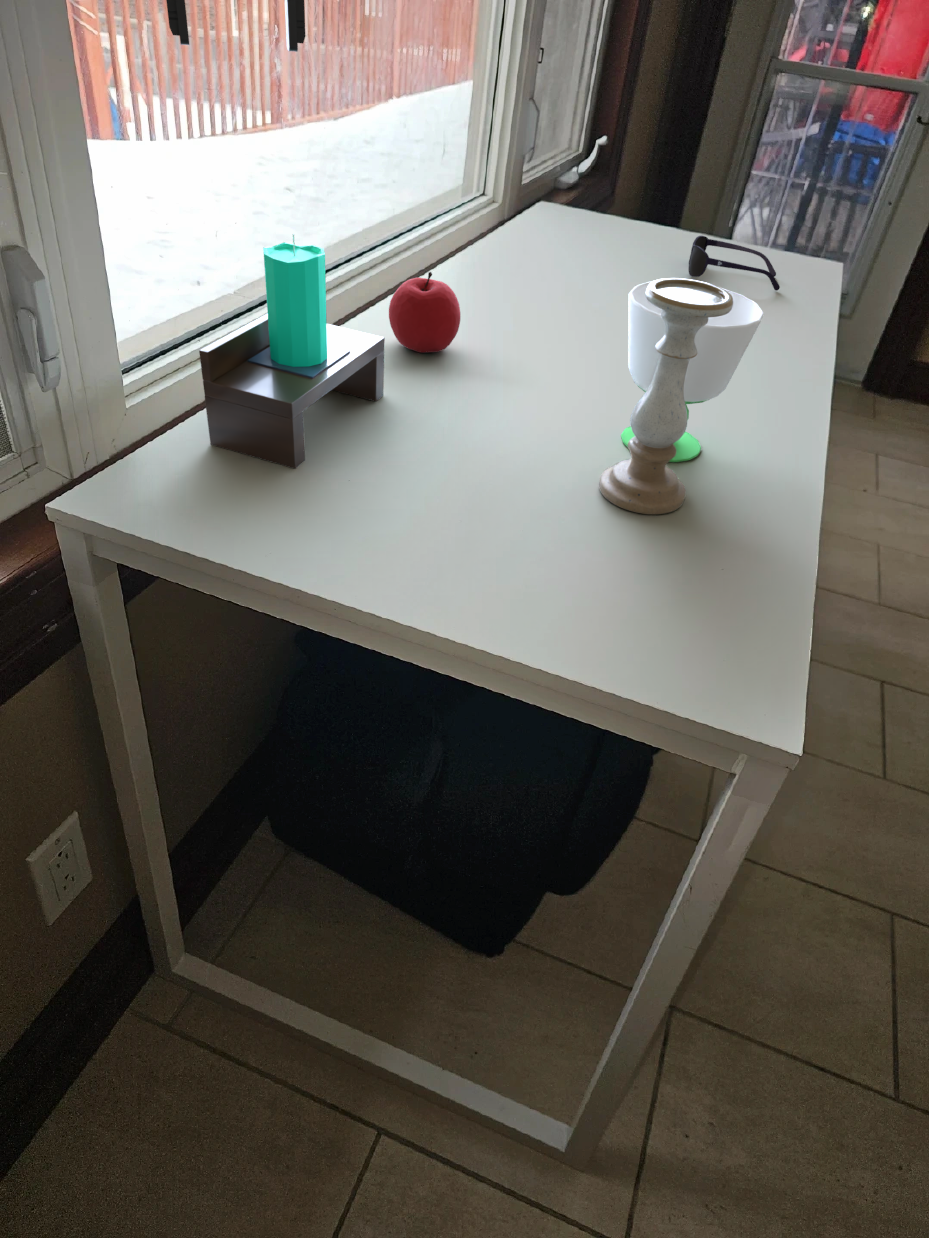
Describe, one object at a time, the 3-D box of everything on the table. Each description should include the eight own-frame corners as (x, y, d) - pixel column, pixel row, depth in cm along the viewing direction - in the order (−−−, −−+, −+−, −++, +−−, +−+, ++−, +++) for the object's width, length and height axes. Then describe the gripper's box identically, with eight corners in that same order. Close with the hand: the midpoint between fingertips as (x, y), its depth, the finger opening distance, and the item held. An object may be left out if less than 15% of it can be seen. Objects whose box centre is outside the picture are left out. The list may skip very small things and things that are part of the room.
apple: (461, 339, 114) (467, 263, 108) (453, 365, 107) (460, 285, 101) (394, 331, 114) (396, 255, 108) (382, 356, 107) (384, 276, 101)
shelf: (295, 469, 84) (290, 373, 78) (210, 444, 86) (198, 350, 80) (383, 395, 99) (385, 310, 92) (308, 376, 101) (305, 292, 95)
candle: (339, 355, 89) (337, 235, 81) (301, 372, 85) (296, 247, 77) (296, 340, 91) (290, 221, 83) (257, 355, 87) (247, 233, 79)
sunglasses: (686, 260, 153) (693, 230, 150) (773, 272, 151) (782, 243, 148) (686, 282, 143) (694, 251, 139) (780, 295, 141) (790, 265, 138)
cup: (579, 444, 93) (605, 300, 83) (631, 405, 102) (661, 271, 92) (694, 487, 88) (737, 338, 78) (738, 441, 97) (782, 303, 87)
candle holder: (666, 471, 90) (717, 276, 77) (696, 515, 83) (758, 310, 70) (588, 471, 88) (627, 273, 76) (612, 516, 82) (660, 308, 69)
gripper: (314, -213, 63) (320, 47, 73) (111, -242, 59) (147, 36, 69) (328, -224, 57) (332, 59, 67) (105, -257, 54) (146, 47, 64)
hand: (239, 47), depth 68 cm, fingers open, 8 cm apart
